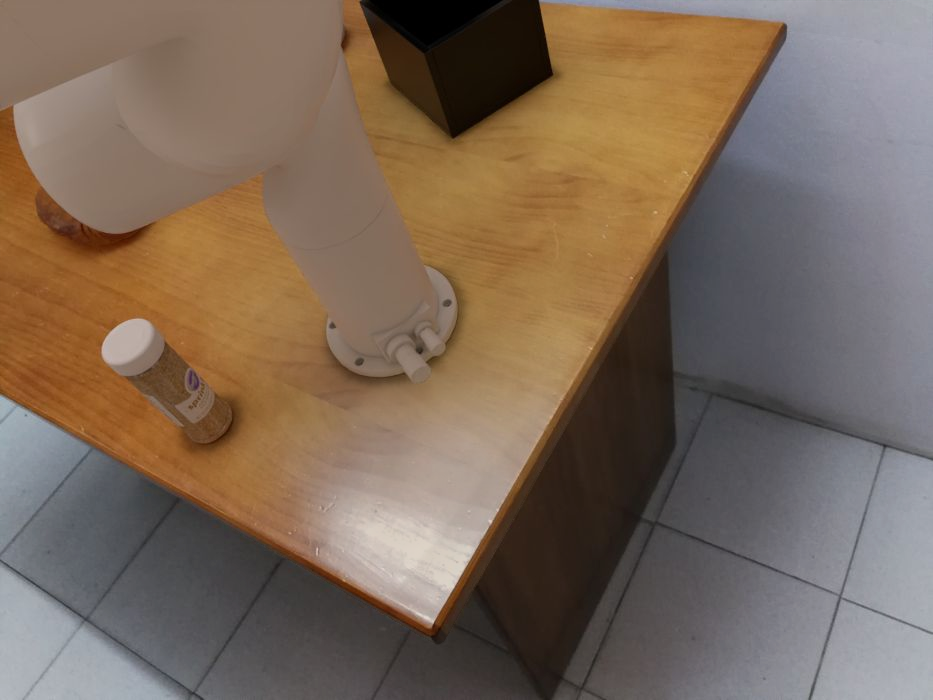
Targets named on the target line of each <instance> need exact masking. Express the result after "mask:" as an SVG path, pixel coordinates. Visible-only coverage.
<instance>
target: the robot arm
mask: <svg viewBox="0 0 933 700" xmlns="http://www.w3.org/2000/svg"><path fill="white" fill-rule="evenodd" d="M343 22H344V0H0V112H1V111H3V110H6V109H8V108H10V107H13V108H12V112H13V122H14V129H15V133H16V138H17V141H18V144H19V147H20V149H21V153H22V154H23V157H24V159H25V161H26V163H27V165H28V167H29V169H30V171H31V172H32V174H33V175H34V177H35V178H36V180H37V182H38V183H39V185H40V186H42V187H43V188H44V189H45V191H46V192H47V193H48V194H49V195H50V196H51V197H52V198H53V199H54V200H55V201H56V202H57V203H58V204H59V205H60V206H61V207H62V208H63V209H64V210H65V211H66V212H68V213H69V214H70V215H71V216H73V217H74V218H75V219H77V220H78V221H80V222H82V223H83V224H85V225H87V226H89V227H91V228H93V229H96V230H98V231H101V232H105V233H112V234H121V233H127V232H130V231H133V230H136V229H139V228H141V227H142V228H143V227H146V226H148V225H151V224H153V223H155V222H157V221H160V220H162V219H165V218H167V217H169V216H171V215H173V214H176V213H178V212H181V211H183V210H185V209H188V208H190V207H192V206H194V205H196V204H199V203H201V202H203V201H205V200H206V201H207V200H209V199H210V198H213V197H215V196H217V195H220V194H222V193H224V192H226V191H228V190H231V189H233V188H235V187H238V186H239V185H242V184H244V183H246V182H248V181H250V180H253V179H254V178H257V177H258V176H260V175H261V174H262V179H261V180H262V181H261V200H262V206H263V210H264V214H265V216H266V217H265V218H266V219H267V221H268V222H269V225H270V227H271V228H272V230H273V231H274V233H275V234H276V236H277V237H278V239H279V241H280V242H281V243H282V245H283V247H284V249H285V250H286V252H287V253H288V255H289V256H290V257H291V259H292V261H293V262H294V264H295V265H296V267H297V268H298V270H299V271H300V273H301V274H302V277H303V278H304V280H305V281H306V282H307V284H308V286H309V287H310V289H311V290H312V292H313V293H314V295H315V296H316V299H318V301H319V303H320V305H321V306H322V307H323V309H324V310H325V312H326V314H327V315H328V316H327V319H326V325H325V333H326V334H325V336H326V342H327V345H328V347H329V349H330V351H331V353H332V354H333V356H334V357H335V359H336V360H337V361H338V362H339V363H340V365H341V366H343V367H344V368H346V369H347V370H349V371H350V372H353V373H354V374H357V375H361V376H366V377H369V378H371V377H372V378H386V377H387V378H388V377H392V376H398V375H401V374H403V373H404V374H406V375H407V377H408V378H409V379H410V381H411V383H413V384H416V385H419V384H422V383H424V382H426V381H427V380H428V379H429V378H430V377H431V374H432V368H431V367H430V365H429V364H428V363H427V361H429V360H430V359H431V358H433V357H439V356H441V355H442V354H443V353H445V352H446V349H447V344H446V343H447V342H448V341H449V339H450V338H451V336H452V333H453V331H454V329H455V327H456V325H457V324H456V323H457V319H458V316H459V314H458V313H459V305H458V300H457V295H456V293H455V290H454V289H453V286H452V284H451V282H450V281H449V280H448V279H447V277H446V276H444V275H443V274H442V272H440V271H438V270H437V269H435V268H433V267H431V266H428V265H425V264H424V261H423V260H422V257H421V255H420V253H419V250H418V249H417V246H416V244H415V242H414V240H413V237H412V235H411V233H410V230H409V228H408V226H407V224H406V221H405V219H404V217H403V215H402V213H401V210H400V208H399V206H398V204H397V201H396V199H395V197H394V194H393V192H392V190H391V188H390V185H389V183H388V181H387V179H386V177H385V174H384V172H383V170H382V168H381V165H380V163H379V161H378V158H377V156H376V153H375V151H374V149H373V146H372V144H371V141H370V138H369V136H368V133H367V131H366V129H365V125H364V121H363V119H362V115H361V113H360V112H361V111H360V108H359V106H358V101H357V97H356V93H355V90H354V86H353V82H352V78H351V73H350V70H349V65H348V62H347V59H346V57H345V53H344V51H343V47H342V44H341V40H342V33H343ZM142 228H141V229H142Z"/></svg>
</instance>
